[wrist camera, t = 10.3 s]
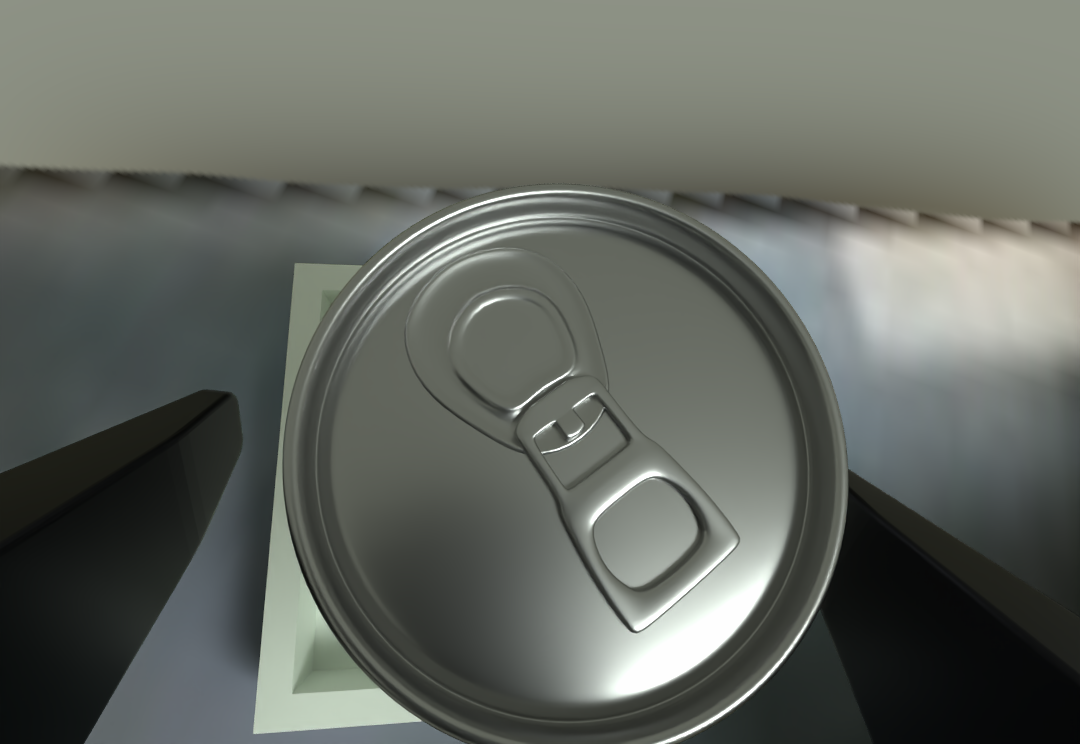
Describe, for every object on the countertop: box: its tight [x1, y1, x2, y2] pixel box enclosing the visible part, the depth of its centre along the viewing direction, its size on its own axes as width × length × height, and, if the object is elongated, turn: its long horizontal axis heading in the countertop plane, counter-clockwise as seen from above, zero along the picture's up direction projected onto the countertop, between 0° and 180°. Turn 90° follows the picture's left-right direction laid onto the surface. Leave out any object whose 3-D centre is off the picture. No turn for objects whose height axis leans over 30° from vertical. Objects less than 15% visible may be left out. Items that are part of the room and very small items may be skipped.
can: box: [282, 184, 848, 744], centre depth 11 cm, size 6×6×12 cm
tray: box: [253, 263, 422, 734], centre depth 16 cm, size 12×12×2 cm
